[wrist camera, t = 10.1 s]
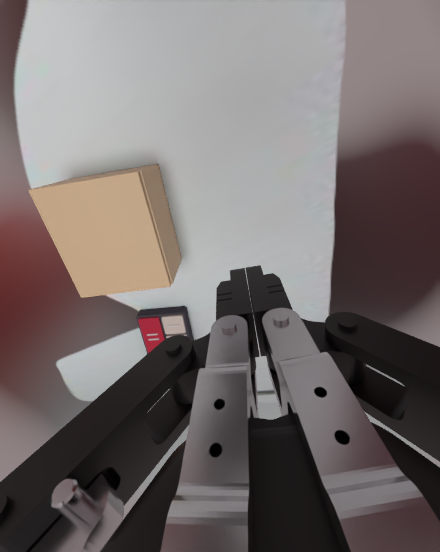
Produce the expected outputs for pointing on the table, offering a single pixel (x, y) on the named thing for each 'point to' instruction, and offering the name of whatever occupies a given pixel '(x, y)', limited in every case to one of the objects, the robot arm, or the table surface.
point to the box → (152, 211)
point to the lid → (104, 234)
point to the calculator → (163, 325)
